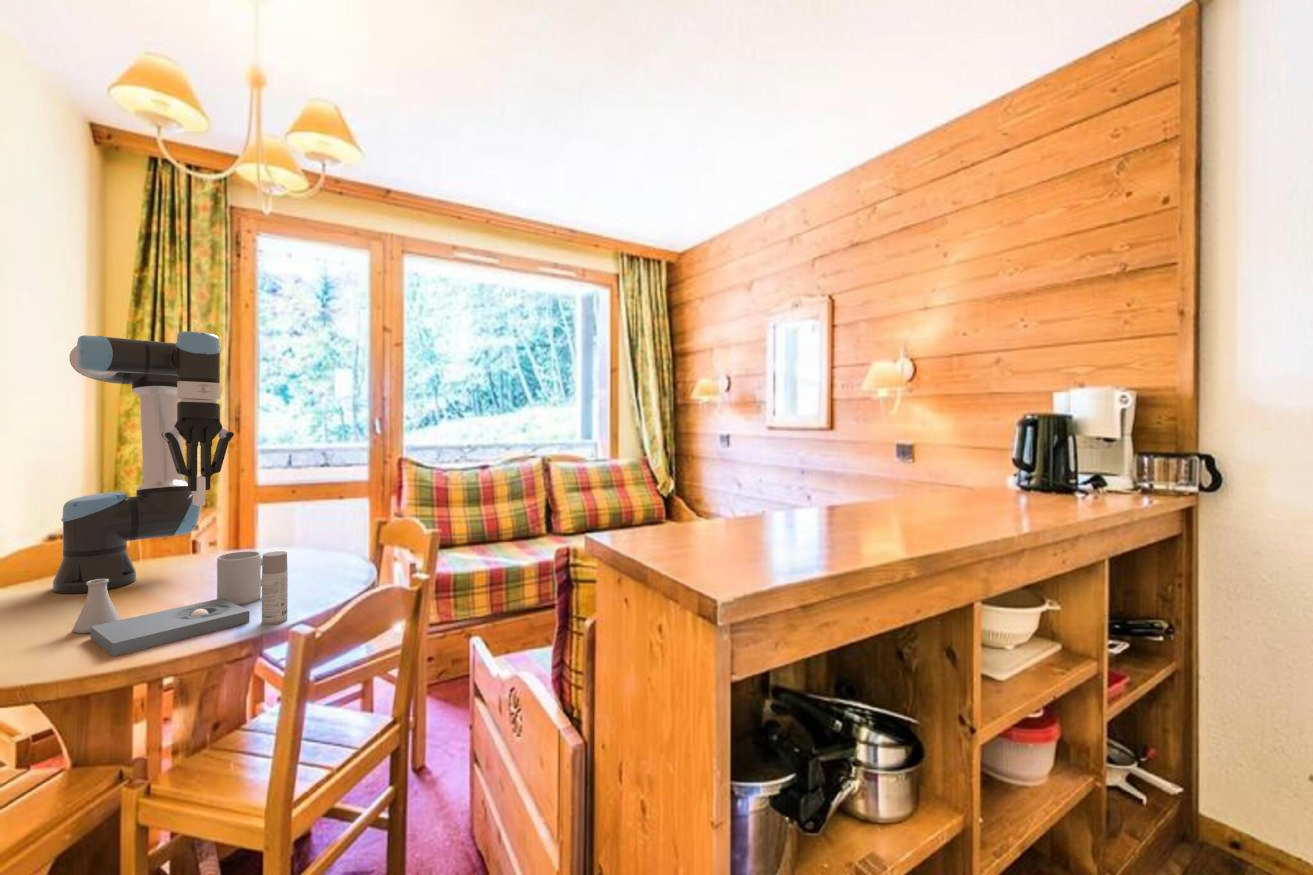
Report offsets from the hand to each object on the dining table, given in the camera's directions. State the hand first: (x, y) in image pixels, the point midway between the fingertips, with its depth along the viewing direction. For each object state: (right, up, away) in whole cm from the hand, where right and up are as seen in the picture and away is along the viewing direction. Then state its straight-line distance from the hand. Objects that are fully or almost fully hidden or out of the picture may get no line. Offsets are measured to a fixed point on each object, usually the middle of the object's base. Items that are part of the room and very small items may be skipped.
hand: (199, 504), depth 127 cm
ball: (+6, -23, -7) cm, 25 cm away
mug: (+4, -24, +10) cm, 27 cm away
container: (+20, -25, -4) cm, 32 cm away
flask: (-13, -25, -10) cm, 30 cm away
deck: (+3, -25, -11) cm, 27 cm away
